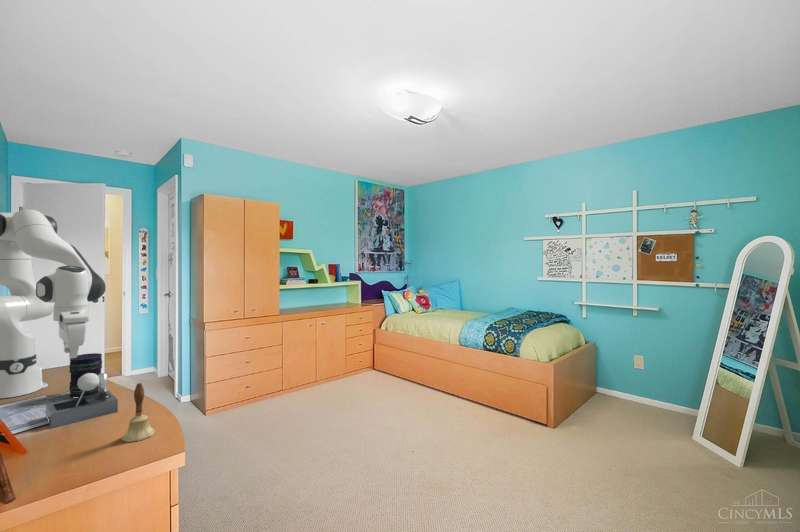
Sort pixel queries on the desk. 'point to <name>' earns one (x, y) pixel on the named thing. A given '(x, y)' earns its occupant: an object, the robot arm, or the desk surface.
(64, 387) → the desk surface
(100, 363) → the storage jar
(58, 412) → the grey stand
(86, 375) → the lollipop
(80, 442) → the desk surface
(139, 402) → the hand bell
